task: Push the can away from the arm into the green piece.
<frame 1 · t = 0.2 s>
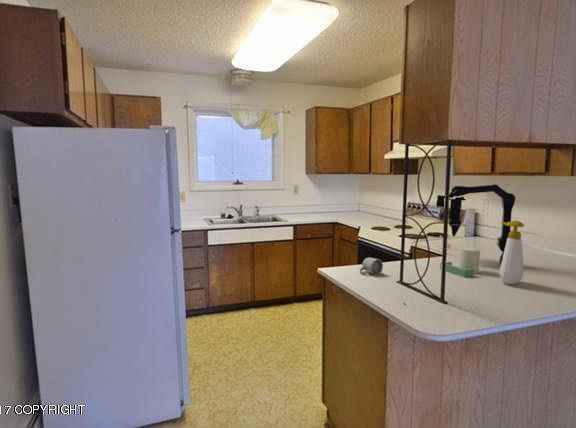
hand: (453, 234, 203), 15 cm above the counter, tool pointing down, fingers open, 9 cm apart
green piece: (462, 271, 181), on the counter
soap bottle: (508, 282, 164), on the counter
ceramic mug: (370, 273, 177), on the counter
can: (468, 271, 183), on the counter
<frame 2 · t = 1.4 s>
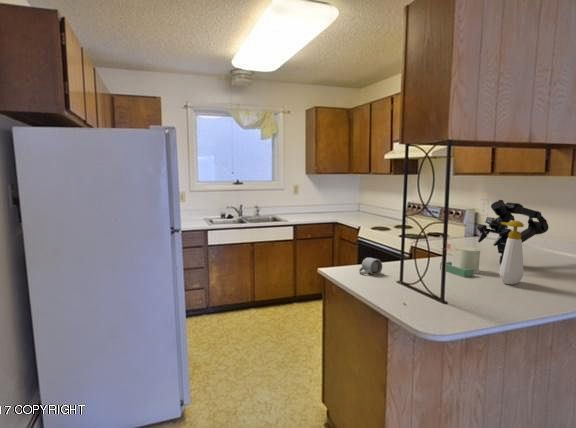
hand: (486, 243, 186), 13 cm above the counter, tool tilted 45°, fingers open, 9 cm apart
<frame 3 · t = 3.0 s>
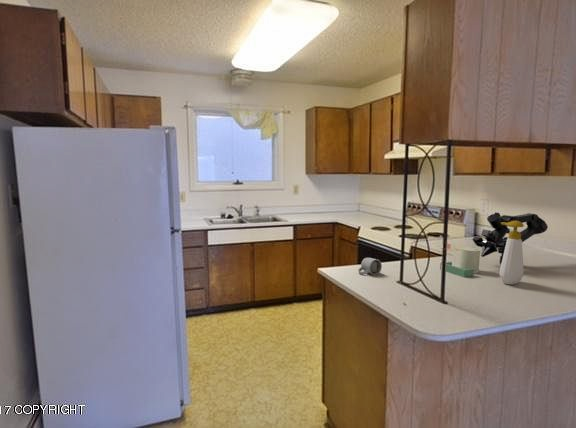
hand: (481, 256, 185), 7 cm above the counter, tool tilted 45°, fingers closed
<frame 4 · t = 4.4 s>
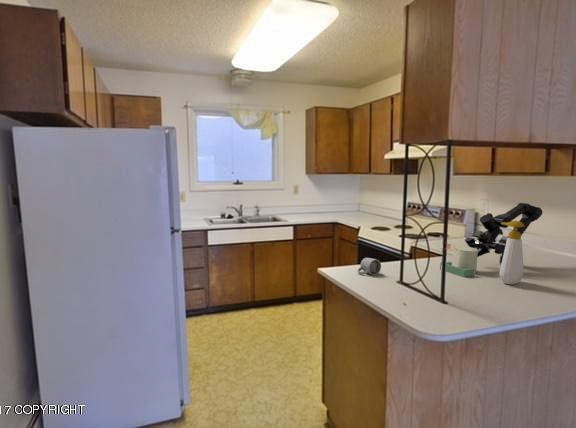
hand: (473, 257, 183), 7 cm above the counter, tool tilted 45°, fingers closed, pressing on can
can: (466, 271, 182), on the counter, touching gripper
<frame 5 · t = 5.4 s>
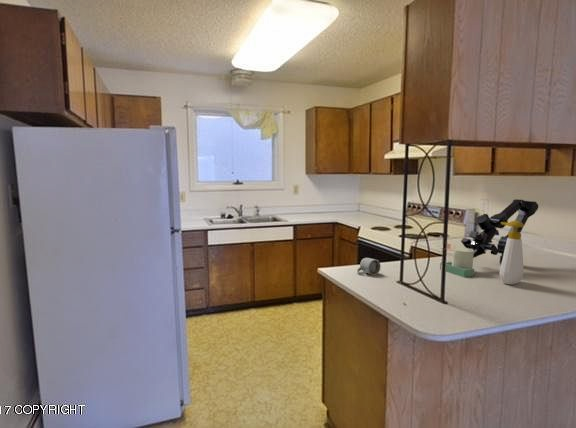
hand: (469, 258, 182), 7 cm above the counter, tool tilted 45°, fingers closed, pressing on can
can: (462, 272, 181), on the counter, touching gripper
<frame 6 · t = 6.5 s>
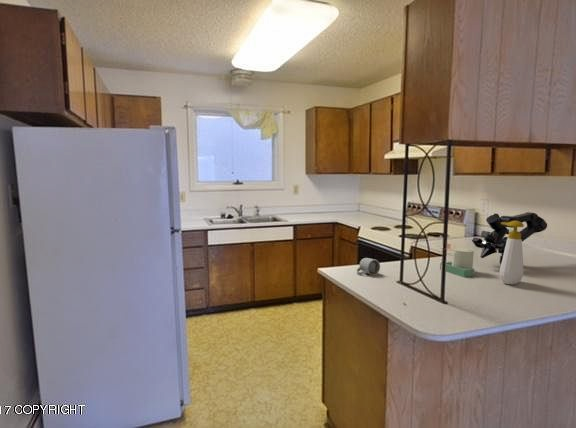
hand: (481, 257, 185), 6 cm above the counter, tool tilted 45°, fingers closed
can: (462, 272, 181), on the counter
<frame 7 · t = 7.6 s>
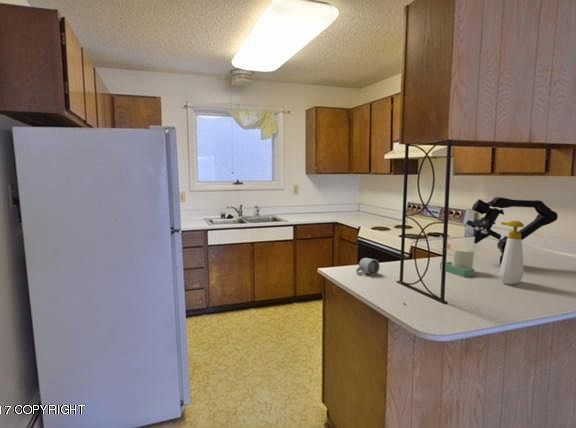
hand: (475, 243, 195), 12 cm above the counter, tool tilted 25°, fingers closed
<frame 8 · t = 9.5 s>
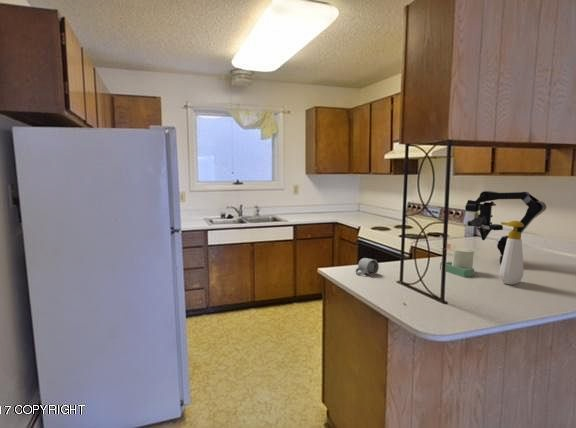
hand: (483, 240, 203), 12 cm above the counter, tool pointing down, fingers closed
at the end: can 0.9 cm off-centre on the green piece, point 0.0 cm above the green piece's base; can tilted 0° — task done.
